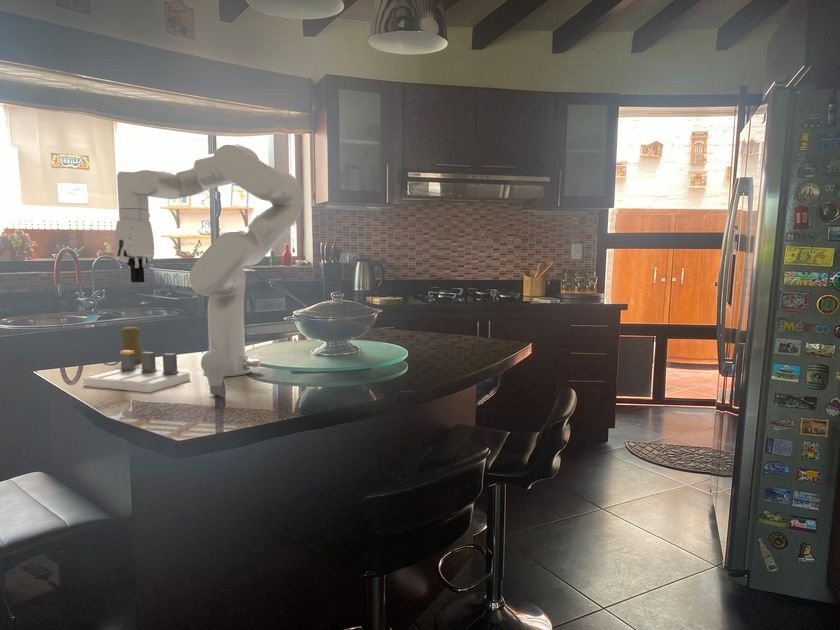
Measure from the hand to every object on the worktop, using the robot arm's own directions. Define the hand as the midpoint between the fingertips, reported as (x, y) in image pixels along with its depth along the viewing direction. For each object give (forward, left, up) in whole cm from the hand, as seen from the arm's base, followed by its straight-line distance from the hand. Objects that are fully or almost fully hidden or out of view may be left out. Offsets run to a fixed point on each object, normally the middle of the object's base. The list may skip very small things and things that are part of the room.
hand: (137, 282), depth 166 cm
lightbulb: (-32, +30, -25) cm, 51 cm away
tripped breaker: (-2, +11, -23) cm, 25 cm away
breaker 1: (-8, +13, -23) cm, 28 cm away
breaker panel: (-7, +17, -25) cm, 31 cm away
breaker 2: (-15, +15, -23) cm, 31 cm away
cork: (+8, -10, -25) cm, 28 cm away
